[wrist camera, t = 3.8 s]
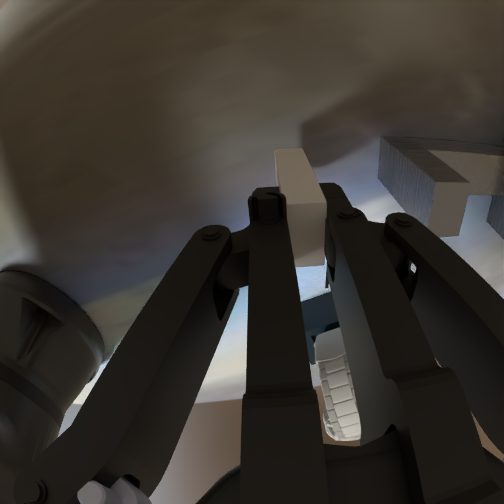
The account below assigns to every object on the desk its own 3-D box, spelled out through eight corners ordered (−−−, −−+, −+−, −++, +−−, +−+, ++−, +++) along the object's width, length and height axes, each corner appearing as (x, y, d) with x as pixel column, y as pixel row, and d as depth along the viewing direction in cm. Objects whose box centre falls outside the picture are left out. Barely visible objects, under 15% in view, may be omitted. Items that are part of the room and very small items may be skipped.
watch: (314, 348, 28) (328, 458, 19) (282, 290, 24) (293, 424, 15) (371, 329, 27) (402, 437, 18) (351, 265, 23) (395, 395, 14)
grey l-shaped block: (378, 178, 19) (425, 238, 13) (380, 136, 17) (435, 182, 12) (492, 180, 18) (549, 229, 13) (498, 145, 17) (561, 188, 11)
